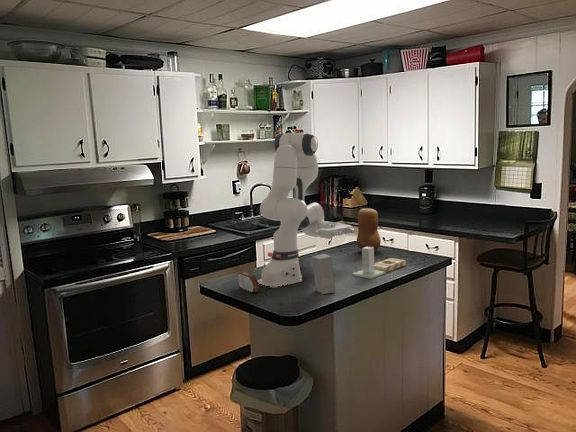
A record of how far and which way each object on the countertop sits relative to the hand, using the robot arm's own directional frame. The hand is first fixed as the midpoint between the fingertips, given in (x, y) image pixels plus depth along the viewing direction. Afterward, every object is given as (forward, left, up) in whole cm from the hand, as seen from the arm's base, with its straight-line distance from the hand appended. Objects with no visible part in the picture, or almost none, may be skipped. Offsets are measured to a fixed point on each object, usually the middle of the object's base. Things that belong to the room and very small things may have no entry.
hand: (347, 232), depth 244 cm
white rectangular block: (-2, -14, -18) cm, 22 cm away
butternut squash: (+35, +15, -19) cm, 43 cm away
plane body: (+14, -14, -19) cm, 27 cm away
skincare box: (-33, -15, -19) cm, 41 cm away
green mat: (-2, -14, -19) cm, 23 cm away
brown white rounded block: (-54, +13, -19) cm, 58 cm away
